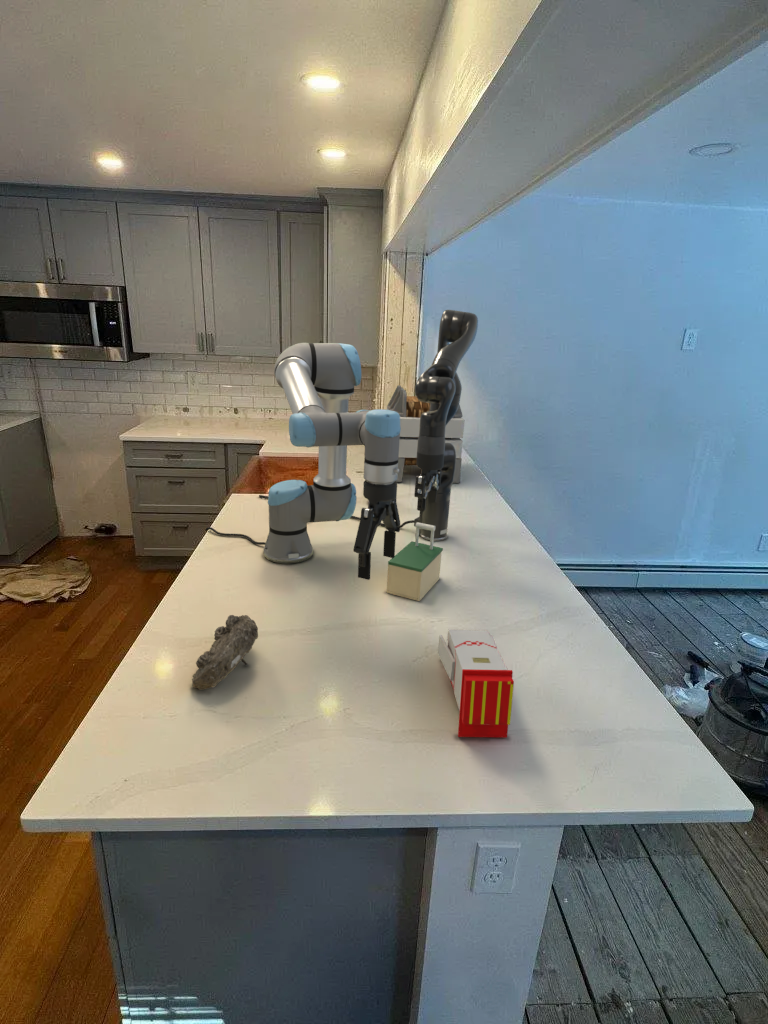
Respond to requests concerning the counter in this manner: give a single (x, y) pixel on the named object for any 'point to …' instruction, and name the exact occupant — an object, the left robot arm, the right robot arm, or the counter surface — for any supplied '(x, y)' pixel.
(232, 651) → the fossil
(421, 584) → the chest
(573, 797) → the counter surface
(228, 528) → the counter surface
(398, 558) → the lid
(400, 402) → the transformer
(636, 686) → the counter surface
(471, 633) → the toy
